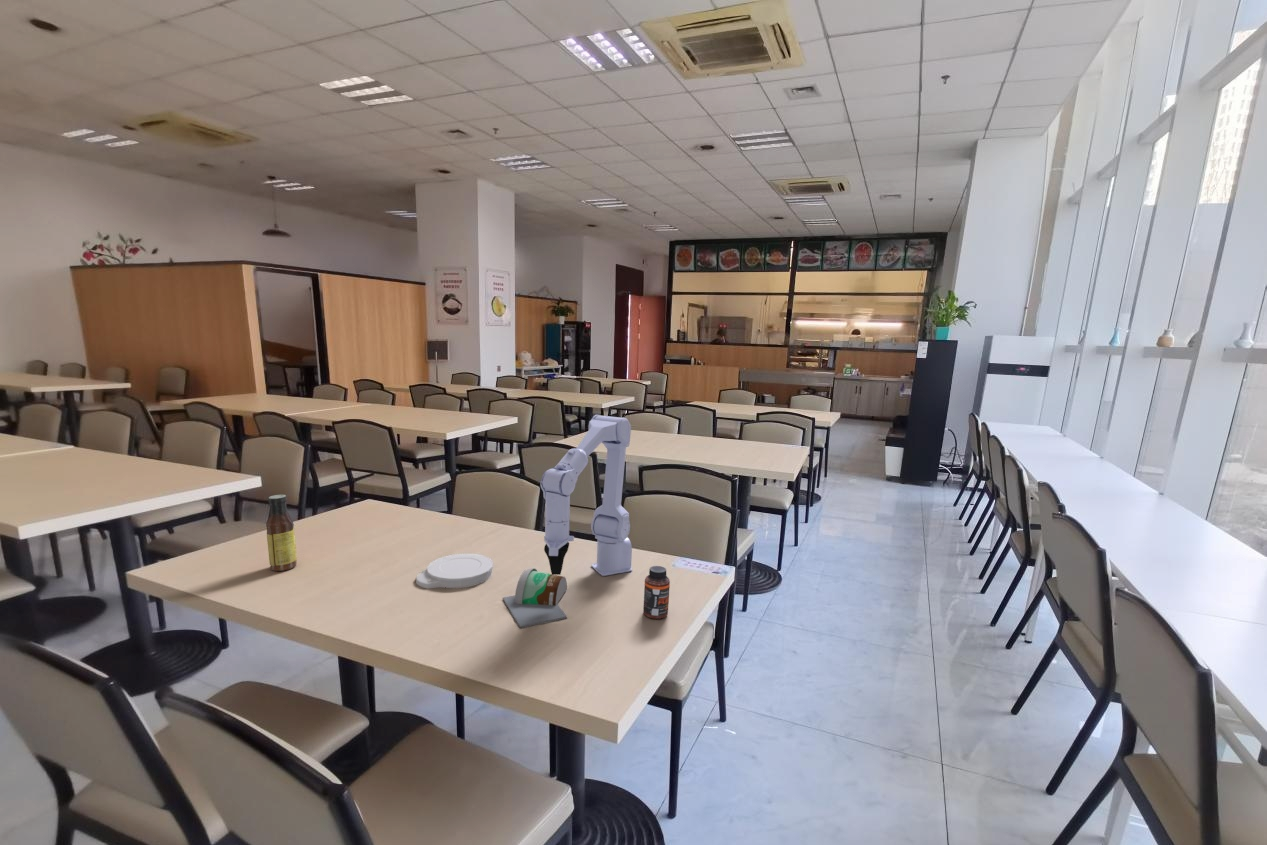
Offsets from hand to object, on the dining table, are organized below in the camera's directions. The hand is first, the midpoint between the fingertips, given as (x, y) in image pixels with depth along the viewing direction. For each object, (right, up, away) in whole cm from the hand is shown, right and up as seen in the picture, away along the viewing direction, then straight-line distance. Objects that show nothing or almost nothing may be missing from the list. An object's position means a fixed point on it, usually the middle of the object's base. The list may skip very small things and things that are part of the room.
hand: (556, 573), depth 132 cm
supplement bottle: (+24, -9, -2) cm, 26 cm away
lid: (-29, -5, +15) cm, 33 cm away
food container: (+1, -4, +3) cm, 5 cm away
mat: (-5, -8, -1) cm, 10 cm away
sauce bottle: (-76, -3, +16) cm, 78 cm away
